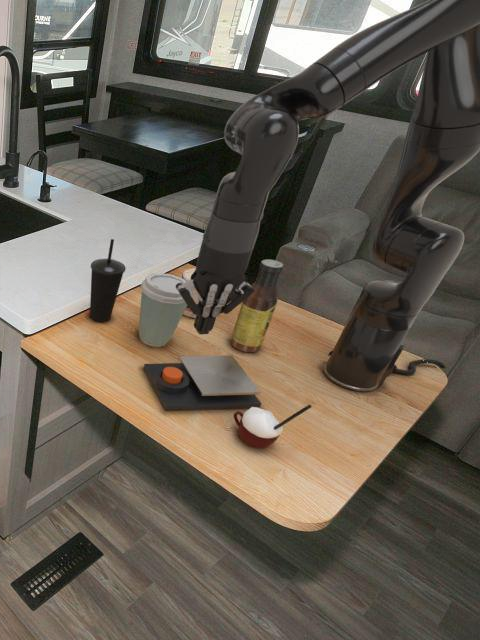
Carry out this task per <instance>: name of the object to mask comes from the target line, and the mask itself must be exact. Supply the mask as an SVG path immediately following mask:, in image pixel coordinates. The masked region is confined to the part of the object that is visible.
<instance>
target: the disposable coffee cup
mask: <svg viewBox="0 0 480 640" xmlns="http://www.w3.org/2000/svg"><path fill="white" fill-rule="evenodd" d="M186 282H187V281H186V280H184V279H183V278H182V277H180V276H178V275H173V274H171V273H163V272H158V273H150V274H149V275H147V276H145V278H144V279H143V280H142V281H141V284H140V288H141V289H140V290H141V294H140V295H141V297H140V309H139V324H138V337H139V340H140V341H141V342H142V343H143V344H145V345H147V346H150V347H156V348H159V347H160V348H161V347H165V346H166V345H168V343H169V342H170V341H171V339H172V337H173V335H174V333H175V331H176V329H177V327H178V325H179V323H180V321H181V320H182V317H183V316H184V315H183V313H184V311H185V309H186V307H187V304H186V303H185V301H184V300H183V298H182V296H181V295H180V293H179V292H178V290H177V289H176V284H178V283H182V284H184V283H186ZM193 294H194V292H193ZM193 294H192V295H191V297H193Z"/></svg>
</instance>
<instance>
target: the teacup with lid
mask: <svg viewBox="0 0 480 640" xmlns="http://www.w3.org/2000/svg"><path fill="white" fill-rule="evenodd" d="M195 270H196V267H193V268H188V269H187V270H185V271H184V272H183V273H182V274H181V278H183V279H184V280H186V281H189V280H191V275H192V274H193V273H194V271H195ZM193 292H194V294H193V297H192V299H193V300H194V302H195V303H196V304H198V292H197V290H196V289H195V287H193ZM196 315H197V314H196ZM196 315H195V314H193V313H192V311H191V310H190V308H189V307H188V306H187V307H186V309H185V311H184V313H183V315H182V316H185V317H188V318H192V319H195V318H196Z"/></svg>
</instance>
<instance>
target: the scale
mask: <svg viewBox="0 0 480 640" xmlns="http://www.w3.org/2000/svg"><path fill="white" fill-rule="evenodd" d="M166 367H175V368H178V369H179V370H181V371H182V373H183V376H182V379H181V382H180V383H179V384H171V383H168V382H166V381H164V380H163V379H162V373H163V370H164V368H166ZM142 370H143V371H144V373H145V375H146V377H147V380H148V381H149V383H150V385H151V387H152V388H153V391H154V393H155V395H156V397H157V399H158V401H159V403H160V405H161V406H162V409H163V410H164V412H190V411H191V412H193V411H224V410H229V411H230V410H249V409H250V408H251V407H258V408H260V407H261V405H262V402H261V401H260V399H259V398H258V397H257V396H256V394H253V395H218V396H201V394H200V392H199V391H198V389H197V388H196V386H195V384H194V383H193V381H192V380H191V378H190V376H189V375H188V373H187V372H186V370H185V368H184V367H183V365H182V364H181V362H167V363H166V362H165V363H144V365H143V369H142Z"/></svg>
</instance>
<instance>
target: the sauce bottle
mask: <svg viewBox="0 0 480 640" xmlns="http://www.w3.org/2000/svg"><path fill="white" fill-rule="evenodd" d="M283 269H284V264H283V263H282V262H281V261H279V260H275V259H269V258H268V259H262V260H261V262H260V265H259V270H258V273H257V276H256V278H255V281H254V282H253V283H252V284H250V285H251V286H252V288H253V289H254V292H253V293H252V294H251V295H250V296H249V297H248V298H246V299H245V300H244V301H243V302H241V303H240V308H239V311H238V314H237V317H236V320H235V324H234V326H233V330H232V333H231V338H230V345H231V346H232V347H233V348H235V349H236V350H238V351H240V352H243V353H256V352H258V351H259V350H260V348H261V346H262V345H263V343H264V341H265V337H266V334H267V331H268V330H269V326H270V323H271V321H272V318H273V315H274V313H275V310H276V307H277V304H278V280H279V279H280V274H281V273H282V272H283Z"/></svg>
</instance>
